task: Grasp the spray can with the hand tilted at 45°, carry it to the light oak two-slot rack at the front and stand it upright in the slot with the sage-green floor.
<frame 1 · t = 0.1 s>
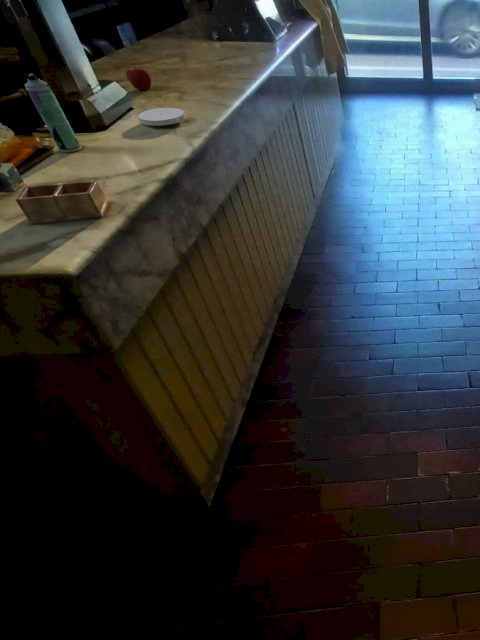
hand: (18, 19, 137), 32 cm above the worktop, tool pointing down, fingers open, 8 cm apart
plastic lid: (164, 122, 175), on the worktop
spray can: (71, 149, 155), on the worktop
apple: (144, 89, 201), on the worktop
rack: (71, 213, 126), on the worktop
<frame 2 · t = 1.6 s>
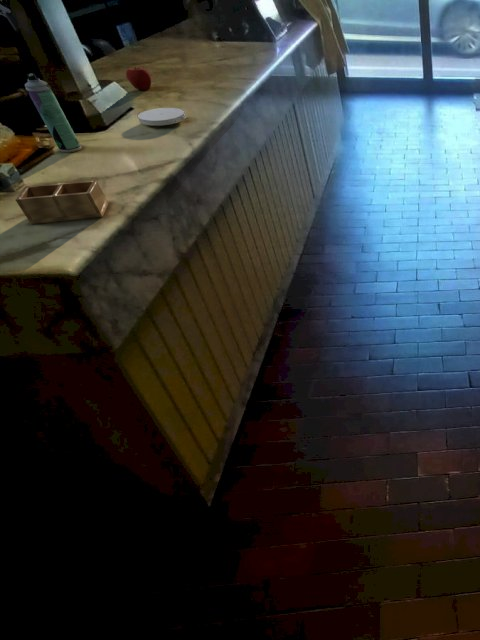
nothing on the worktop moved.
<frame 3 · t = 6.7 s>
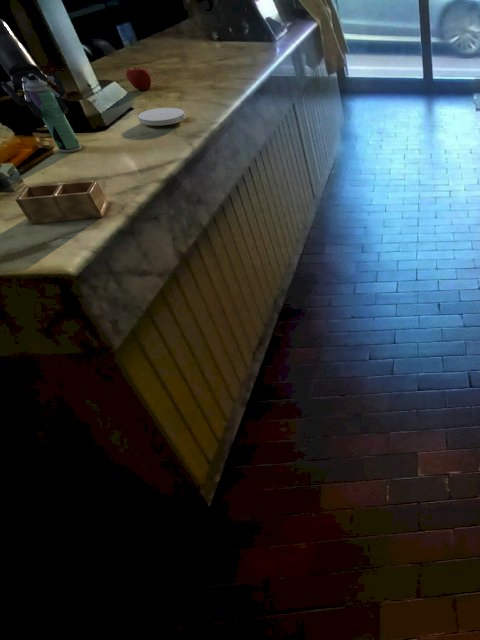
hand: (53, 114, 147), 10 cm above the worktop, tool tilted 45°, fingers closed on spray can, 5 cm apart
spray can: (71, 149, 155), on the worktop, touching gripper
everything else where it was.
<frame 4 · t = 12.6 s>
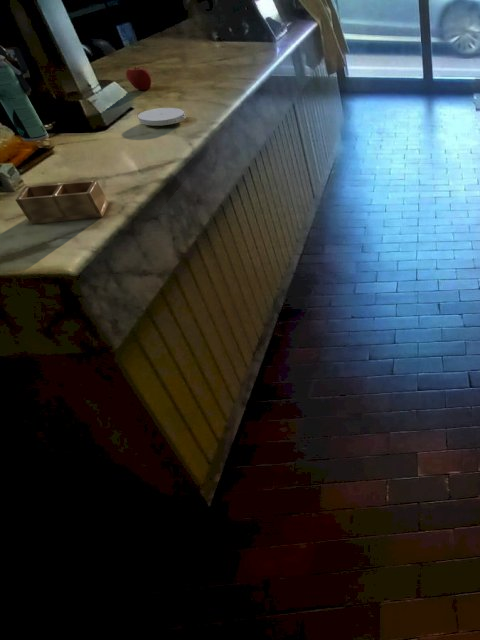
hand: (13, 95, 122), 22 cm above the worktop, tool tilted 45°, fingers closed on spray can, 5 cm apart
spray can: (36, 138, 130), point 11 cm above the worktop, touching gripper
everything else where it was.
when the fingers open (11 cm above the worktop, at t = 18.6 s): spray can stays where it is, resting on rack.
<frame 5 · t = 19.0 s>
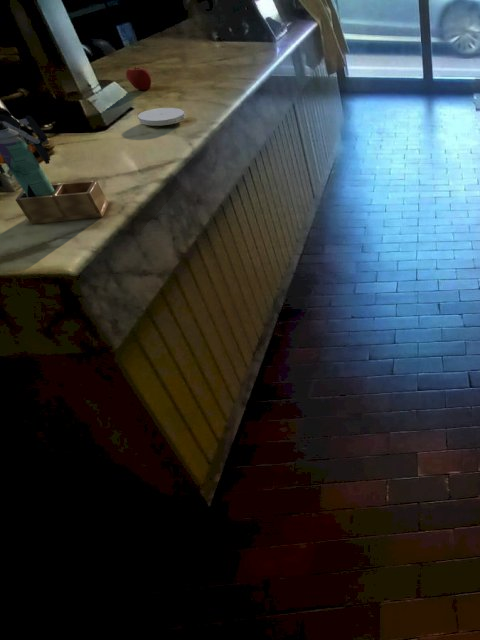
hand: (25, 166, 116), 12 cm above the worktop, tool tilted 45°, fingers open, 8 cm apart
spray can: (51, 211, 124), point 1 cm above the worktop, touching rack
everything else where it was.
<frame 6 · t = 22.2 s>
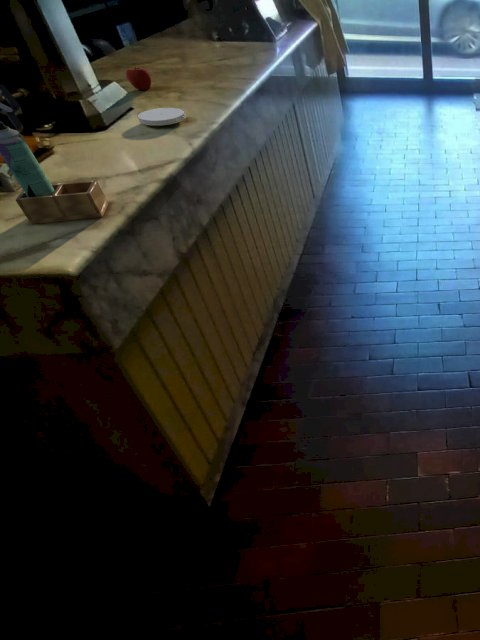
nothing on the worktop moved.
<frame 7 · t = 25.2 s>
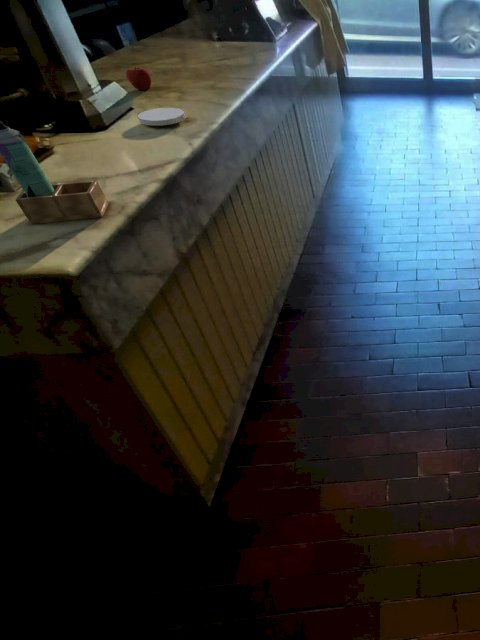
nothing on the worktop moved.
at the end: spray can 0.1 cm from the target spot in the rack, point 1.0 cm above the rack's base; spray can tilted 0°; the gripper is holding nothing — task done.
